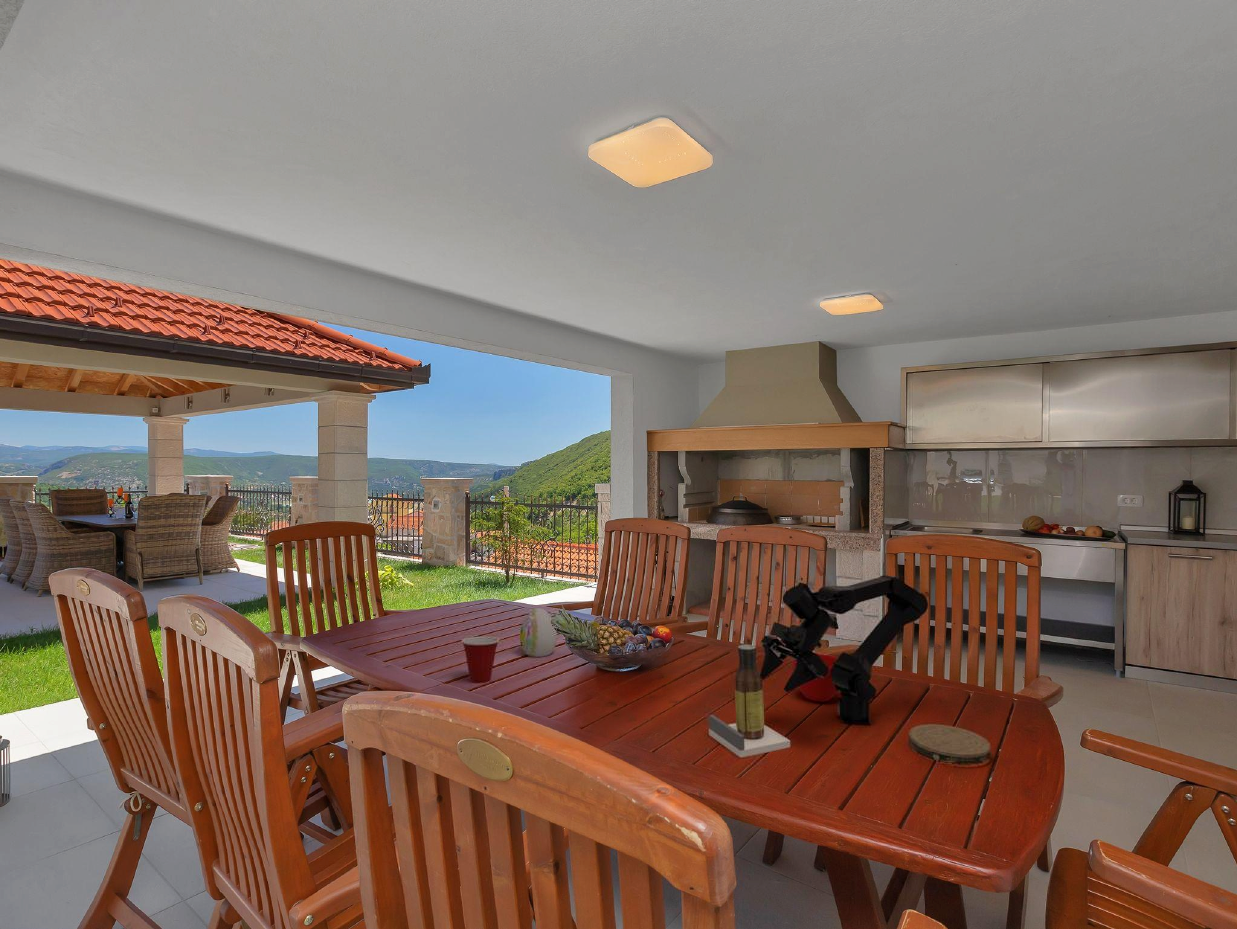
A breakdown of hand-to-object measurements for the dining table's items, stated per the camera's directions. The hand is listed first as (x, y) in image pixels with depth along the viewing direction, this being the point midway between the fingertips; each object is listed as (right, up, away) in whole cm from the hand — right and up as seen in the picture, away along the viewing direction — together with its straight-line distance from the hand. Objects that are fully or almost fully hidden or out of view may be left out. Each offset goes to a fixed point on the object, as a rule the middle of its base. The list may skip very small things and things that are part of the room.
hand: (772, 684), depth 150 cm
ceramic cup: (+20, -12, +24) cm, 34 cm away
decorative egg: (-62, -12, +66) cm, 92 cm away
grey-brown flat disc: (+37, -12, -8) cm, 39 cm away
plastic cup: (-76, -12, +40) cm, 87 cm away
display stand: (-6, -12, -3) cm, 14 cm away
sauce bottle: (-6, -11, -3) cm, 12 cm away
